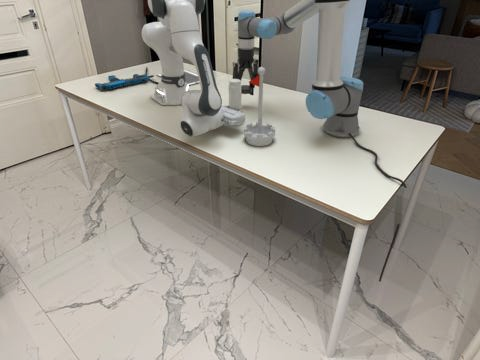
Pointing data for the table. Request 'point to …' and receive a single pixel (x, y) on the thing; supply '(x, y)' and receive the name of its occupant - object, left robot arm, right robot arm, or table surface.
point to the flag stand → (259, 119)
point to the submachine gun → (122, 81)
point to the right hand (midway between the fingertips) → (245, 95)
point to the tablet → (189, 78)
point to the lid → (246, 89)
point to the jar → (235, 95)
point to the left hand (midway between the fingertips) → (236, 108)
